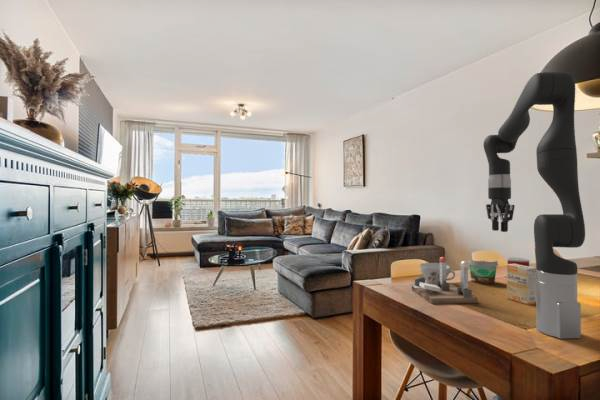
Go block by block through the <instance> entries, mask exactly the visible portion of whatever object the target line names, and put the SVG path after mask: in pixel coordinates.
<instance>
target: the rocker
mask: <svg viewBox="0 0 600 400" xmlns="http://www.w3.org/2000/svg"><path fill="white" fill-rule="evenodd" d="M419 286H421V287H422V288H424V289H428V290H433V291H438V292H440V290H441V288H440V287H438V286H436V285H432V284H430V283H428V282H425V283H422V282H420V284H419Z"/></svg>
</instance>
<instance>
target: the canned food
mask: <svg viewBox="0 0 600 400" xmlns="http://www.w3.org/2000/svg"><path fill="white" fill-rule="evenodd" d="M507 264H519V265H524V266H529V267H530V259H528V258H523V257H508V258H507Z"/></svg>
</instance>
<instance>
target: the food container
mask: <svg viewBox="0 0 600 400" xmlns="http://www.w3.org/2000/svg"><path fill="white" fill-rule="evenodd" d="M467 263H468V266H469V274H470V281H471V282H472V283H475V284H479V285H494V284H495V281H496V273H497V267H499V263H498V260H497V259H496V260H494V261H487V260H472V259H468V261H467Z"/></svg>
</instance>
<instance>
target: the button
mask: <svg viewBox="0 0 600 400" xmlns="http://www.w3.org/2000/svg"><path fill="white" fill-rule="evenodd" d="M420 282H422V283H426V280H425V277H423V276H414V284H415V285H417V286H419V284H420Z"/></svg>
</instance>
